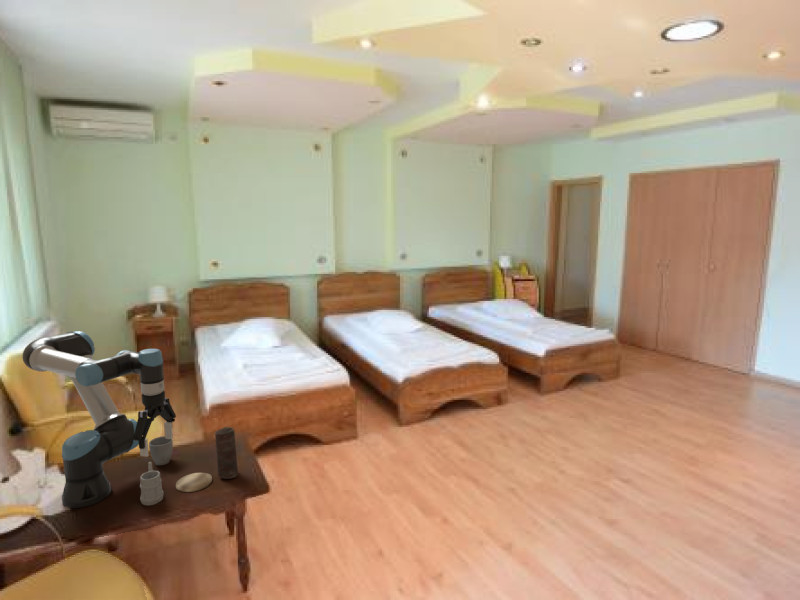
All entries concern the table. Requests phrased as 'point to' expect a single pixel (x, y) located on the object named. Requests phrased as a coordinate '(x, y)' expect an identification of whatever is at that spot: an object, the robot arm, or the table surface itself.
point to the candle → (226, 453)
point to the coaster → (193, 482)
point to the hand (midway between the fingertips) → (157, 446)
